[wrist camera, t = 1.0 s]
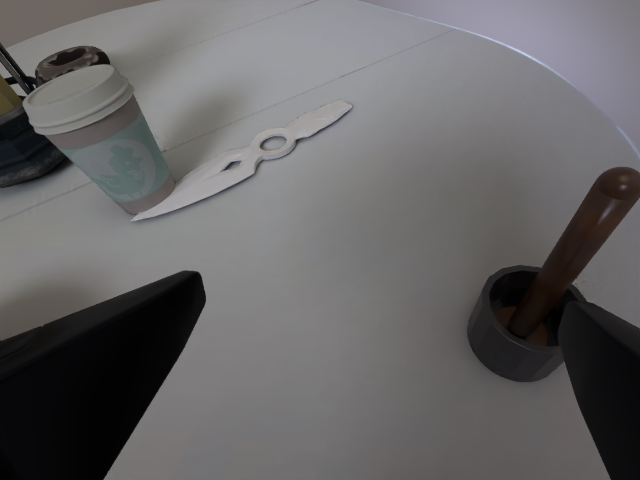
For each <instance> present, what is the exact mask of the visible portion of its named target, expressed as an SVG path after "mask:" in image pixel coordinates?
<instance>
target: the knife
mask: <svg viewBox="0 0 640 480" xmlns="http://www.w3.org/2000/svg"><path fill="white" fill-rule="evenodd" d="M351 108H352V106H351V105H350V104H349V103H347V102H345V101H343V100H341V99H339V100H337V101H334V102H332V103H329V104H326V105H323V106H321V107H320V108H317V109H315V110H313V111H311V112H309V113H304V114H302V115H300V116H298V117H297V119H296V120H294V121H292V122H290V123H288V124H287V126H286V127H285V128H284V129H283V128H273V129H269V130H266V131H263V132H261V133H259V134H258V135H257V136H255V137H254V138H253V140H252V141H251V144H250V146H248V147H246V148H241V149H231V150H227V151H225V152H224V153H222V154H220V155H218V156H216V157H214V158H212V159H211V160H209V161H207V162H206V163H204V164H202V165H201V166H199V167H197V168H196V169H194V170H192V171H191V172H189V173H188V174H187V175H185V176H184V177H182V178H181V179H179V180H178V181H177V182H175V189H174V191H173V192H172V193H171V194H170V195H169V196H168V197H167V198H166V199H165V200H164V201H162V202H161V203H160V204H158V205H156V206H155V207H153V208H151V209H149V210H147V211H145V212H140V213H138V214H137V215H136V216H135V217H134V218H133V219H132V220H131V221H130V222H132V221H136V220H141V219H145V218H150V217H154V216H157V215H161V214H164V213H167V212H170V211H173V210H176V209H179V208H182V207H184V206H187V205H189V204H192V203H194V202H197V201H199V200H202V199H204V198H207V197H209V196H211V195H214V194H216V193H218V192H220V191H222V190H224V189H226V188H228V187H230V186H232V185H234V184H236V183H238V182H240V181H242V180H243V179H245V178H247V177H249V176H250V175H252V174H254V173H255V169H256V166H257V165H258V163H259V162H260V161H262V160H263V159H266V160H269V159H276V158H280V157H282V156H285V155H286V154H288V153H289V152H291V151H292V150H293V149H294V147H295V145H296V140H297V139H299V138H302V137H309V136H311V135H313V134H315V133H317V131H319V130H320V129H322V128H325V127H327V126H328V125H330V124H332V123H333V122H335V121H336V120H338V119H339V118H340V117H341V116H342V115H343V114H345V113H346V112H347V111H349V109H351ZM273 136H282V137H285V138H286V139H287V141H286V144H285V145H284V146H283V147H281V148H279V149H277V150H273V151H265V150H262V149H261V148H260V145H261V143H262V142H263V141H264V140H265V139H267V138H270V137H273ZM235 161H241V163H240V164H239V166H238V167H237V168H233V169H229V170H226V171H223V170H224V169H225V168H226V167H227V166H228V165H229V164H230V163H231V162H235Z"/></svg>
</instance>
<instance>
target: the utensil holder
mask: <svg viewBox="0 0 640 480" xmlns="http://www.w3.org/2000/svg"><path fill="white" fill-rule="evenodd" d="M540 269H541V268H539V267H532V266H523V265H518V266H512V267H507V268H503V269H501V270H499V271H497V272H496V273H494V274H493V275H491V276H490V277H489V278H488V280H487V282H486V283H485V285H484V287H483V289H482V291H481V294H480V296H479V298H478V301H477V303H476V305H475V308H474V310H473V312H472V315H471V317H470V319H469V323H468V328H467V334H468V340H469V344H470V346H471V348H472V350H473V352H474V354H475V355H476V357H477V358H478V359H479V360H480V361H481V362H482V363H483V364H484V365H485V366H486V367H487V368H488V369H490V370H491V371H493V372H494V373H496V374H498V375H500V376H502V377H504V378H507V379H510V380H513V381H519V382H532V381H537V380H541V379H543V378H545V377H547V376H548V375H550V374H551V373H552V372H553V371H554V370H555V369H557V368H558V367H559V366H560V365H561V364H562V363H564V362H565V361H564V358H563V355H562V352H561V348H560V345H559V342H558V329H559V325H560V322H561V319H562V316H563V313H564V310H565V307H566V305H567V304H568V303H569V302H571V301H579V302H587V301H586V299H585V298H584V297H583V295H582V294H581V293H580V291H579V290H578V289H577V288H576V287H575V286H574V285H572V284H571V285H570V287H569V288H568V289H567V290H566V292H565V293H564V294H563V295H562V297H561V298H560V299H559V301H558V302H557V303H556V304H555V306H554V307H553V308H552V309H551V311H550V312H549V313H548V315H547V316H546V317H545V318H544V320H543V321H542V323H543V324H544V326H545V328H546V330H547V334H548V341H547V344H546V346H541V345H535V344H530V343H528V342H526V341H524V340H522V339H520V338H518V337H516V336H514V335H512V334H511V333H510V332H509V331H508V330H507V329H506V328H505V327H503V326H502V325H501V324H500V323H499V322H498V321H497V319H496V317H495V315H494V313H495V312H496V311H497V310H499V309H501V308H504V307H517V306H518V305H519V303H520V301H521V300H522V298H523V297H524V295H525V293H526V292H527V290H528V289H529V287H530V285H531V284H532V282H533V281H534V279H535V277H536V276H537V274H538V273H539V271H540Z"/></svg>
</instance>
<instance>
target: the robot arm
mask: <svg viewBox="0 0 640 480" xmlns="http://www.w3.org/2000/svg"><path fill="white" fill-rule="evenodd" d="M205 302H206V295H205V290H204V286H203V282H202V277H201V275H200V273H199V272H197V271H181V272H179V273H176V274H174V275H171V276H168V277H166V278H163V279H161V280H158V281H156V282H153V283H150V284H148V285H145V286H143V287H140V288H138V289H135V290H132V291H130V292H127V293H125V294H122V295H119V296H117V297H114V298H112V299H109V300H107V301H104V302H101V303H99V304H96V305H94V306H91V307H89V308H86V309H83V310H81V311H78V312H76V313H73V314H70V315H68V316H65V317H63V318H60V319H58V320H55V321H52V322H50V323H47V324H45V325H43V327H42V326H39V327H37V328H34V329H32V330H29V331H26V332H24V333H21V334H19V335H16V336H13V337H11V338H8V339H5V340H3V341H0V480H103V479H104V478H105V476H106V475H107V473H108V471H109V470H110V468H111V467H112V465H113V463H114V462H115V460H116V458H117V457H118V455H119V454H120V452H121V450H122V449H123V447H124V445H125V444H126V442H127V441H128V439H129V437H130V436H131V434H132V432H133V431H134V429H135V428H136V426H137V424H138V423H139V421H140V419H141V418H142V416H143V415H144V413H145V411H146V410H147V408H148V406H149V405H150V403H151V402H152V400H153V398H154V397H155V395H156V393H157V392H158V390H159V389H160V387H161V385H162V384H163V382H164V380H165V379H166V377H167V376H168V374H169V372H170V371H171V369H172V367H173V366H174V364H175V363H176V361H177V359H178V358H179V356H180V354H181V352H182V351H183V349H184V347H185V345H186V343H187V341H188V339H189V337H190V335H191V333H192V331H193V328H194V326H195V324H196V322H197V320H198V318H199V316H200V314H201V312H202V310H203V308H204V306H205ZM558 342H559V345H560V348H561V352H562V355H563V358H564V361H565V365H566V368H567V371H568V374H569V378H570V381H571V384H572V387H573V390H574V394H575V397H576V400H577V402H578V405H579V408H580V410H581V413H582V415H583V417H584V420H585V422H586V424H587V426H588V429H589V431H590V433H591V436H592V438H593V440H594V442H595V445H596V447H597V449H598V451H599V454H600V456H601V458H602V461H603V463H604V465H605V467H606V470H607V472H608V474H609V476H610V479H611V480H640V328H638V327H636V326H634V325H632V324H630V323H628V322H627V321H625V320H623V319H621V318H619V317H617V316H615V315H614V314H612V313H610V312H608V311H606V310H604V309H603V308H601V307H599V306H597V305H595V304H593V303H590V302H579V301H571V302H569V303H568V304H567V305H566V307H565V310H564V313H563V316H562V319H561V322H560V325H559V329H558Z"/></svg>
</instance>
